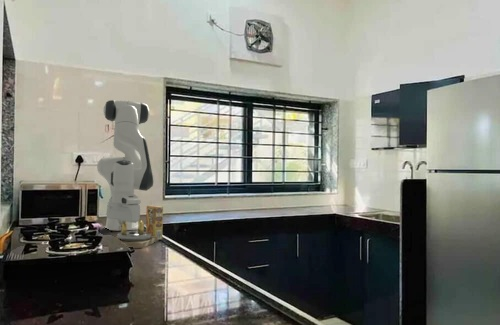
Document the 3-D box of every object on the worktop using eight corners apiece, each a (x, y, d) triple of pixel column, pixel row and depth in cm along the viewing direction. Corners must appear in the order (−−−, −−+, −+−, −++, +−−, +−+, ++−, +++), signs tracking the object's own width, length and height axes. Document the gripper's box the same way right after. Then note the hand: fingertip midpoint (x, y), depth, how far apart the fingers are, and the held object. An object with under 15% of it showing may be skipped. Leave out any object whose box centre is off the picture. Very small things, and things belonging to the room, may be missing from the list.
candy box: (162, 239, 181) (163, 206, 181) (154, 240, 178) (155, 207, 178) (153, 237, 187) (154, 205, 187) (145, 237, 184) (146, 205, 185)
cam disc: (109, 238, 165) (110, 222, 166) (133, 234, 178) (133, 219, 178) (134, 242, 159) (135, 225, 159) (157, 237, 172) (157, 221, 172)
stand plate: (122, 239, 179) (122, 234, 179) (158, 240, 177) (158, 235, 177) (103, 246, 161) (103, 240, 161) (142, 248, 159) (142, 242, 159)
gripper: (103, 196, 170) (102, 228, 170) (130, 200, 157) (128, 234, 157) (116, 196, 175) (115, 226, 175) (143, 199, 162) (142, 232, 162)
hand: (121, 230), depth 166 cm, fingers closed, pressing on cam disc
